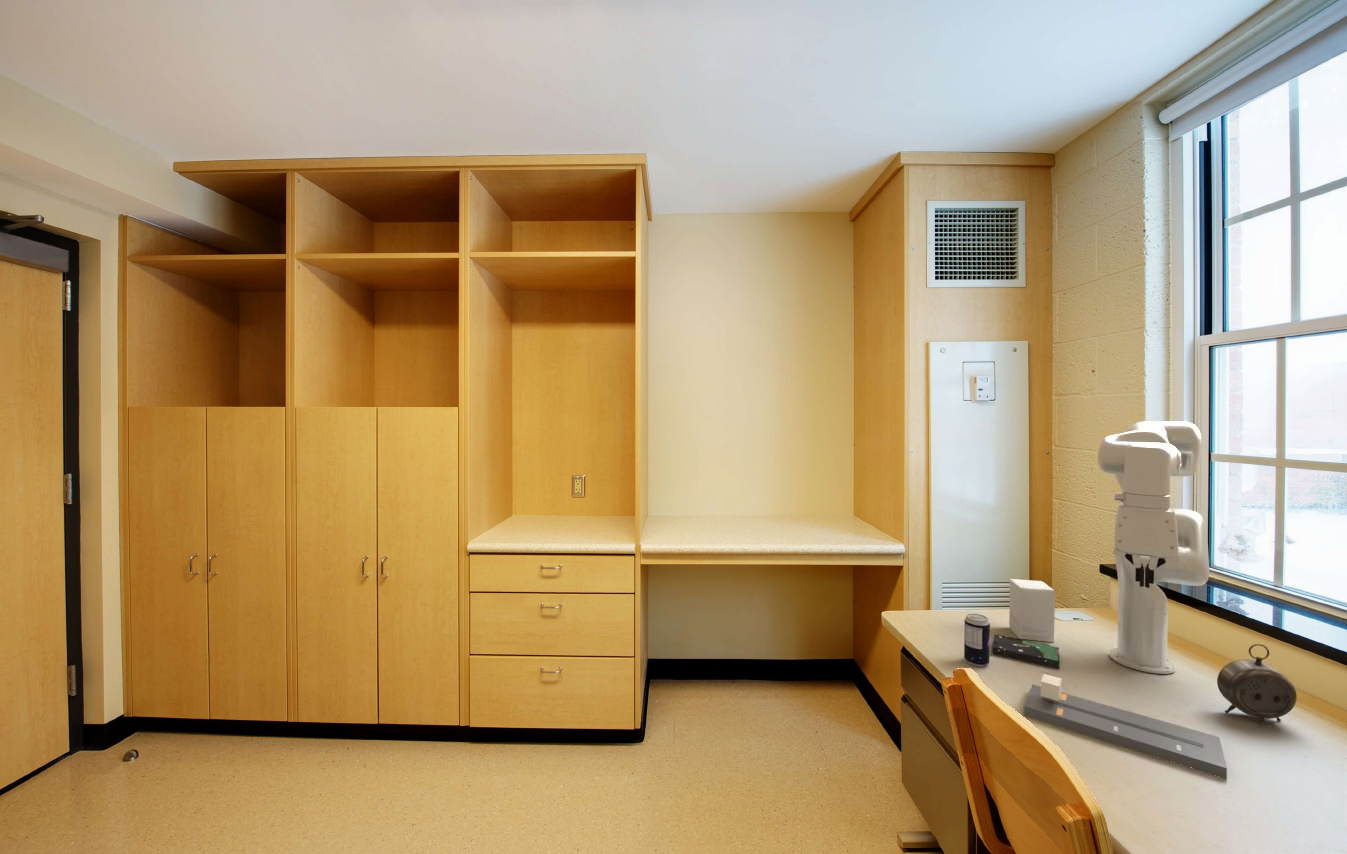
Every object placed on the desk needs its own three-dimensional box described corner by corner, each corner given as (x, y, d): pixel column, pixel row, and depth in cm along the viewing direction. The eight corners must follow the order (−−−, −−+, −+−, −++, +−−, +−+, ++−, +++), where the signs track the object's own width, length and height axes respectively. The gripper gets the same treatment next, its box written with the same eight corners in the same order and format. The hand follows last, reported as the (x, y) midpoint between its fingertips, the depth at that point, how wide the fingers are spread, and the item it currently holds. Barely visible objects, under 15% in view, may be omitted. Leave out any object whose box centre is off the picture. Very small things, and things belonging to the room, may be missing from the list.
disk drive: (991, 657, 140) (1060, 671, 132) (991, 647, 140) (1060, 660, 132) (994, 643, 149) (1058, 655, 140) (994, 633, 149) (1058, 645, 140)
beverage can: (993, 669, 132) (993, 622, 132) (968, 667, 134) (968, 620, 133) (984, 658, 138) (984, 613, 138) (960, 657, 139) (961, 612, 139)
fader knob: (1043, 692, 117) (1043, 673, 116) (1061, 698, 114) (1061, 678, 114) (1040, 701, 113) (1040, 681, 113) (1058, 706, 111) (1059, 686, 111)
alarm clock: (1281, 718, 111) (1283, 642, 110) (1301, 732, 106) (1303, 653, 105) (1214, 708, 114) (1216, 635, 114) (1231, 722, 109) (1233, 645, 109)
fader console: (1032, 692, 121) (1032, 684, 121) (1218, 747, 101) (1218, 736, 101) (1023, 715, 112) (1023, 705, 112) (1226, 779, 92) (1226, 768, 92)
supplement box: (1055, 643, 147) (1056, 590, 147) (1019, 639, 150) (1019, 587, 149) (1042, 630, 156) (1043, 580, 156) (1008, 627, 158) (1009, 578, 158)
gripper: (1100, 500, 116) (1099, 582, 116) (1196, 508, 106) (1194, 598, 106) (1102, 496, 121) (1100, 575, 122) (1193, 503, 111) (1191, 589, 112)
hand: (1144, 585), depth 114 cm, fingers closed
